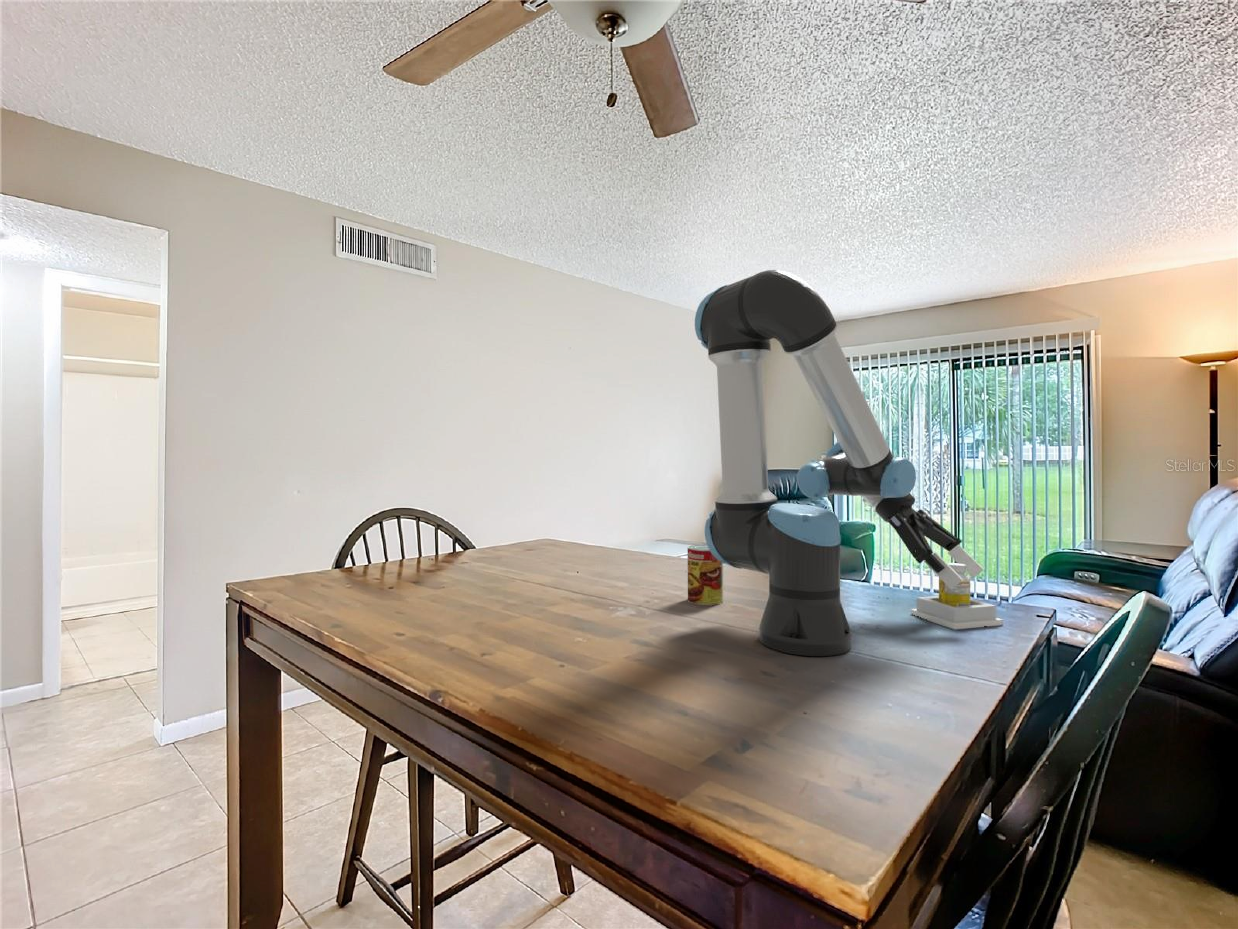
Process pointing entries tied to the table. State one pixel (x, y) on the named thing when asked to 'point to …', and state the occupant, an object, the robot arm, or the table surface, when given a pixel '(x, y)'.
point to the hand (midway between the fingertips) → (968, 579)
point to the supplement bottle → (956, 588)
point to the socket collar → (957, 613)
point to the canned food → (704, 576)
